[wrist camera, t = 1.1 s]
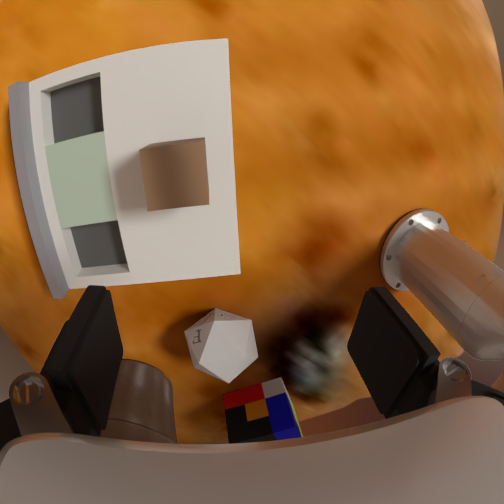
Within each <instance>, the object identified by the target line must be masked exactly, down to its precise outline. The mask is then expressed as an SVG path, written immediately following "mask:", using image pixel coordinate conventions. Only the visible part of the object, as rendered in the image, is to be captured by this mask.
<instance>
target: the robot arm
mask: <svg viewBox="0 0 504 504" xmlns="http://www.w3.org/2000/svg"><path fill="white" fill-rule="evenodd" d="M380 267H381V273H382V275H383V278H384V279H385V281H386V282H387V283H388V284H389V285H390V286H391V287H392V288H394V289H395V290H399V291H411V292H412V293H413V294H414V295H415V296H416V297H417V298H418V299H419V301H420V302H421V303H422V304H423V305H424V306H425V307H426V308H427V309H428V310H429V311H430V312H431V313H432V314H433V316H434V317H435V318H436V319H437V320H438V321H439V322H440V323H441V324H442V325H443V327H444V328H445V329H446V330H447V331H448V332H449V333H450V334H451V336H452V337H453V338H454V339H455V340H456V341H457V343H458V344H459V345H460V346H461V347H462V348H463V349H464V351H465V352H466V353H467V354H469V355H470V356H471V357H473V358H475V359H478V360H483V361H491V360H504V271H503V270H501V269H500V268H499V267H497V266H496V265H495V264H493V263H492V262H491V261H489V260H488V259H487V258H485V257H484V256H482V255H481V254H480V253H478V252H477V251H475V250H474V249H473V248H471V247H470V246H468V245H467V243H466V241H461V240H459V239H458V238H456V237H455V236H453V235H452V234H450V233H449V228H448V225H447V222H446V221H445V219H444V218H443V216H441V215H440V214H439V213H437V212H435V211H433V210H431V209H418V210H415V211H412V212H410V213H409V214H407V215H406V216H404V217H403V218H402V219H401V220H400V221H399V222H398V223H397V224H396V225H395V226H394V227H393V229H392V230H391V232H390V233H389V235H388V237H387V239H386V240H385V243H384V246H383V249H382V253H381V259H380ZM347 348H348V352H349V354H350V356H351V357H352V359H353V361H354V363H355V365H356V367H357V369H358V371H359V373H360V375H361V377H362V379H363V380H364V382H365V384H366V386H367V388H368V390H369V392H370V394H371V396H372V398H373V400H374V402H375V404H376V406H377V408H378V410H379V412H380V413H381V414H384V416H385V418H386V419H384V420H381V421H377V422H374V423H369V424H365V425H362V426H357V427H353V428H348V429H344V430H339V431H334V432H329V433H324V434H318V435H312V436H305V437H299V438H291V439H283V440H275V441H265V442H252V443H236V444H170V443H154V442H141V441H130V440H121V439H113V438H105V437H100V434H101V430H105V429H106V426H107V421H108V416H109V411H110V406H111V402H112V397H113V393H114V389H115V384H116V380H117V376H118V372H119V368H120V364H121V360H122V356H123V346H122V342H121V338H120V334H119V330H118V326H117V321H116V317H115V312H114V307H113V302H112V297H111V293H110V291H109V290H106V288H105V286H99V285H89V286H88V287H87V289H86V290H85V292H84V294H83V295H82V297H81V299H80V301H79V302H78V304H77V306H76V308H75V310H74V311H73V313H72V315H71V317H70V319H69V320H68V321H66V323H65V324H64V326H63V328H62V330H61V332H60V334H59V336H58V337H57V339H56V341H55V343H54V345H53V347H52V349H51V351H50V353H49V356H48V358H47V360H46V362H45V364H44V366H43V368H42V371H41V373H40V374H39V373H36V372H27V373H23V374H21V375H20V376H18V377H17V378H16V379H15V380H14V381H13V382H12V384H11V386H10V389H9V399H7V400H6V401H4V402H1V403H0V504H504V371H503V372H502V373H501V375H500V376H499V378H498V379H497V380H496V382H495V383H494V384H493V385H492V386H491V387H489V386H486V385H483V384H481V383H478V382H476V381H473V380H471V373H470V370H469V368H468V367H467V365H466V364H465V363H464V362H462V361H461V360H459V359H457V358H453V357H446V358H443V359H442V360H441V361H440V362H439V361H438V360H437V359H438V357H439V356H440V352H439V351H438V350H437V348H436V347H435V346H434V345H433V343H432V342H431V341H430V340H429V338H428V337H427V336H426V335H425V333H424V332H423V331H422V330H421V328H420V327H419V326H418V325H417V324H416V322H415V321H414V320H413V319H412V318H411V316H410V315H409V314H408V313H407V312H406V310H405V309H404V308H403V307H402V306H401V305H400V303H399V302H398V301H397V300H396V299H395V298H394V297H393V295H392V294H391V293H390V292H389V291H388V290H387V289H386V288H385V287H371V288H370V289H369V290H368V291H367V292H366V293H365V295H364V298H363V301H362V304H361V307H360V310H359V313H358V316H357V319H356V322H355V325H354V327H353V330H352V333H351V336H350V338H349V341H348V345H347Z"/></svg>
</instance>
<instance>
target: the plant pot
mask: <svg viewBox="0 0 504 504" xmlns="http://www.w3.org/2000/svg"><path fill="white" fill-rule="evenodd" d="M100 437H105V438H113V439H121V440H130V441H141V442H154V443H170V444H177V440H176V431H175V420H174V408H173V391H172V385H171V382H170V380H169V379H167V378H166V377H165V376H164V375H163V373H162V372H161V371H160V370H158V369H157V368H155V367H153V366H151V365H148V364H146V363H143V362H139V361H135V360H127V359H123V360H121V364H120V368H119V372H118V376H117V380H116V384H115V389H114V393H113V397H112V402H111V406H110V411H109V416H108V421H107V426H106V429H105V430H101V434H100Z"/></svg>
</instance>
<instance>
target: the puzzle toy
mask: <svg viewBox="0 0 504 504" xmlns="http://www.w3.org/2000/svg"><path fill="white" fill-rule="evenodd" d="M223 396H224V405H225V414H226V423H227V431H228V439H229V444H236V443H252V442H265V441H275V440H283V439H291V438H299V437H303V435H302V432H301V429H300V425H299V422H298V419H297V416H296V412H295V409H294V406H293V403H292V401H291V399H290V397H289V394H288V392H287V390H286V387H285V385H284V383H283V381H282V378H281V377H279V378H276V379H273V380H270V381H267V382H264V383H260V384H257V385H254V386H250V387H247V388H244V389H240V390H236V391H233V392H229V393H225V394H223Z"/></svg>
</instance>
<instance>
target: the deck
mask: <svg viewBox="0 0 504 504" xmlns="http://www.w3.org/2000/svg"><path fill="white" fill-rule="evenodd" d="M8 89H9V115H10V128H11V138H12V147H13V154H14V161H15V167H16V173H17V179H18V184H19V189H20V194H21V198H22V203H23V207H24V211H25V215H26V219H27V223H28V227H29V230H30V234H31V237H32V240H33V244H34V247H35V250H36V253H37V256H38V259H39V262H40V265H41V268H42V271H43V273H44V276H45V279H46V282H47V284H48V287H49V289H50V292H51V294H52V297H53V299H64V297H65V295H66V294H67V292H68V290H69V289H77V288H87V287H88V286H89V285H99V286H116V285H128V284H140V283H151V282H162V281H173V280H184V279H194V278H204V277H214V276H224V275H234V274H241V271H240V256H239V240H238V224H237V208H236V191H235V173H234V155H233V136H232V116H231V95H230V73H229V49H228V39H211V40H198V41H188V42H179V43H171V44H164V45H158V46H152V47H146V48H141V49H135V50H131V51H126V52H121V53H117V54H113V55H109V56H105V57H101V58H97V59H94V60H90V61H87V62H83V63H80V64H77V65H74V66H71V67H68V68H65V69H62V70H59V71H56V72H54V73H51V74H48V75H46V76H43V77H41V78H38V79H36V80H33V81H31V82H17V83H15V84H13V85H11V86H8ZM202 137H205V145H206V159H207V172H208V184H209V205H201V206H191V207H182V208H173V209H164V210H156V211H147V205H146V199H145V192H144V185H143V178H142V170H141V162H140V154H139V150H140V149H141V148H143V147H145V146H147V145H149V144H152V143H159V142H167V141H174V140H183V139H192V138H202Z"/></svg>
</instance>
